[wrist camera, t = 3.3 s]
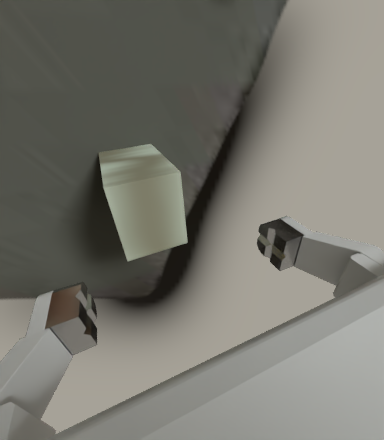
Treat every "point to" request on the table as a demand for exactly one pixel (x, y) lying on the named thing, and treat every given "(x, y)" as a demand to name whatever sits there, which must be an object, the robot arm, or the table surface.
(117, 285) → the table surface
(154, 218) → the block
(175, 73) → the table surface
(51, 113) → the table surface
